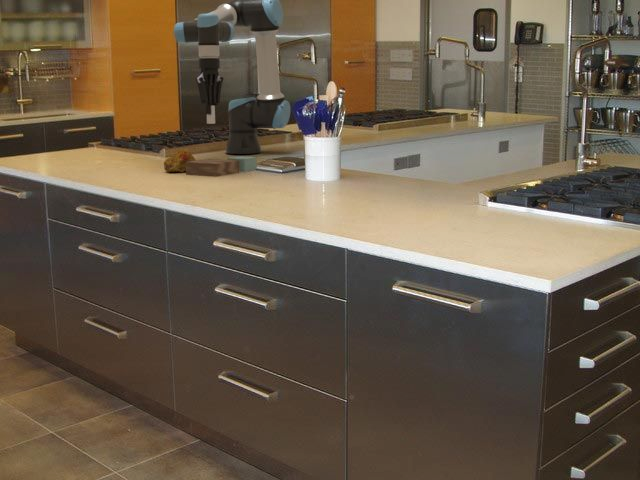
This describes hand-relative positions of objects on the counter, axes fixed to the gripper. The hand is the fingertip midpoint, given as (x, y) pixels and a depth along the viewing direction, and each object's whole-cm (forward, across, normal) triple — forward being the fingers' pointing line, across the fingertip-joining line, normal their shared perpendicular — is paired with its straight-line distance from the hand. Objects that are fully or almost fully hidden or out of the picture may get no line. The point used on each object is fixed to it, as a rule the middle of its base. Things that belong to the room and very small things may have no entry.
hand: (211, 123), depth 325 cm
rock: (+19, -2, -13) cm, 23 cm away
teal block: (+19, -15, +2) cm, 24 cm away
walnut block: (+19, 0, 0) cm, 19 cm away
